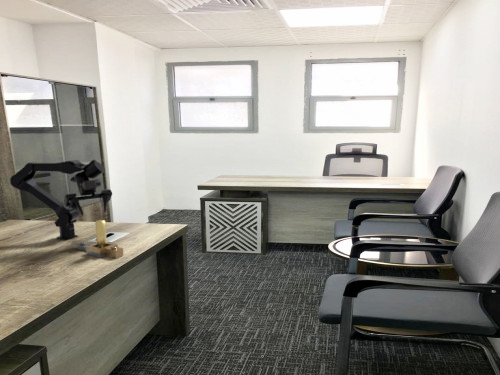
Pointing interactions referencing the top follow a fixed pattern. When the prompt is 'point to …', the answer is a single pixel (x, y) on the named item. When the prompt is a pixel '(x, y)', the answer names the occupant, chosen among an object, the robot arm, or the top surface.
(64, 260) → the top surface
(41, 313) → the top surface
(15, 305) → the top surface
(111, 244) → the square frame with handle
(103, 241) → the brass pin
